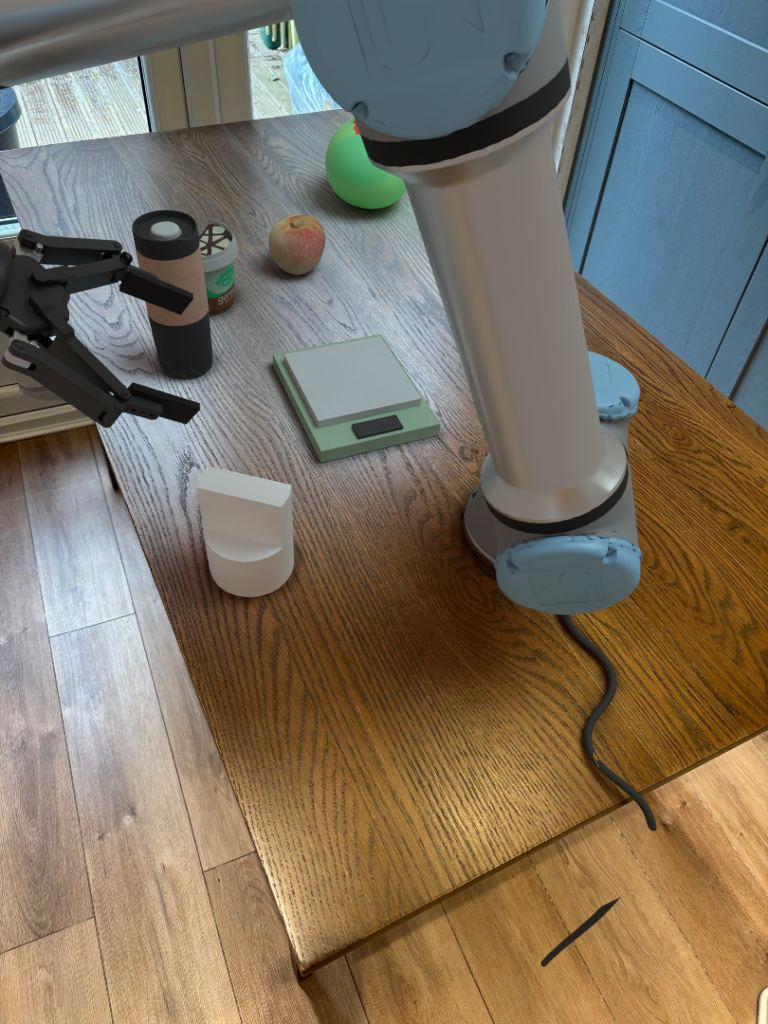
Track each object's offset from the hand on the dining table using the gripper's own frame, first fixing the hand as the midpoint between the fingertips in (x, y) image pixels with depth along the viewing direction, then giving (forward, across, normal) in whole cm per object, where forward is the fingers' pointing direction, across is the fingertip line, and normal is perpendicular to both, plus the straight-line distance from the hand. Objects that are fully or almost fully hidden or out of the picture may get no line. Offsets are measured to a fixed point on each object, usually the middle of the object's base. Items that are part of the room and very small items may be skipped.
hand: (190, 357), depth 73 cm
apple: (+29, -41, -16) cm, 53 cm away
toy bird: (+45, -63, -11) cm, 78 cm away
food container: (+18, -33, -21) cm, 43 cm away
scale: (+28, -10, -7) cm, 30 cm away
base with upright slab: (+12, +16, -11) cm, 23 cm away
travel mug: (+12, -19, -21) cm, 31 cm away
